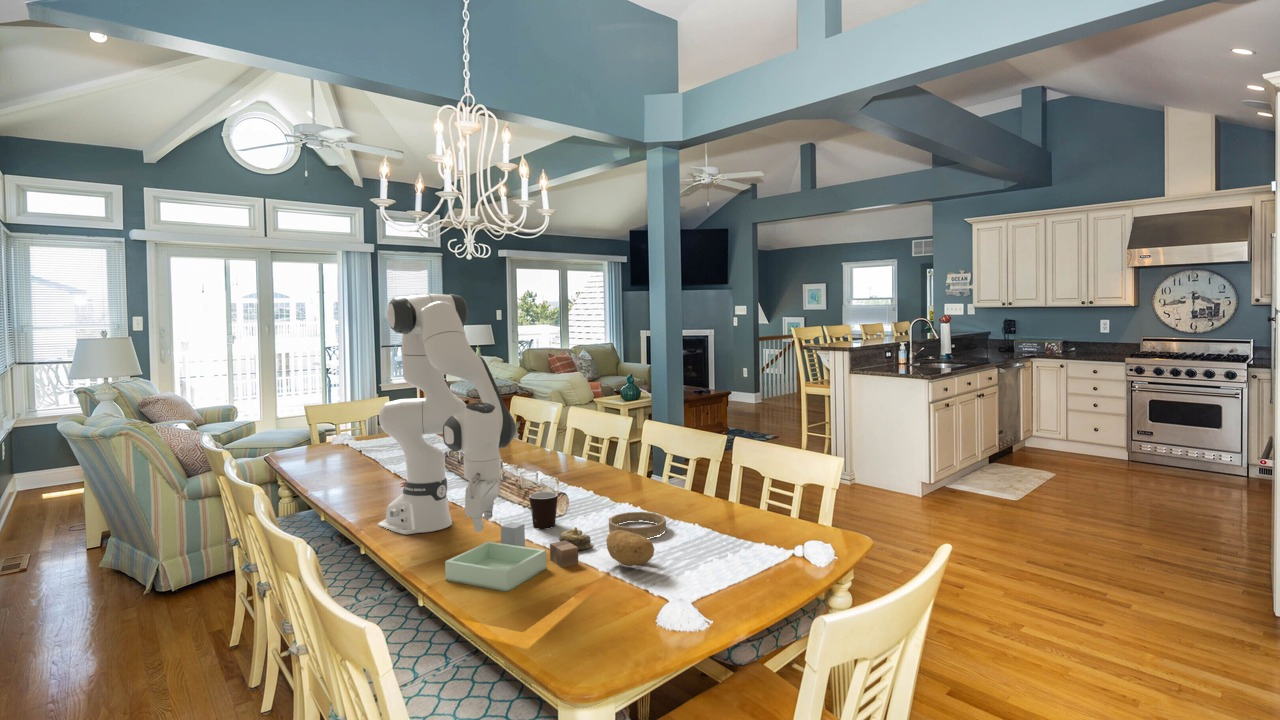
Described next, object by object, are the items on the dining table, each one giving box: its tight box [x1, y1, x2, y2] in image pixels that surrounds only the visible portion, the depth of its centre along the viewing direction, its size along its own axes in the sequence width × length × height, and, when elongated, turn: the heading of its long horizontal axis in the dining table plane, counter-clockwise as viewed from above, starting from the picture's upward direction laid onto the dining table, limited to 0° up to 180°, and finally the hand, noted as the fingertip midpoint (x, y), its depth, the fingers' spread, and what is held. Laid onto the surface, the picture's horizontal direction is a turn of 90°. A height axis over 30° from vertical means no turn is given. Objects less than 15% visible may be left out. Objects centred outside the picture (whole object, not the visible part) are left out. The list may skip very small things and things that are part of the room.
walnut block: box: [549, 540, 579, 569], centre depth 164 cm, size 4×4×7 cm
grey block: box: [500, 521, 526, 547], centre depth 173 cm, size 4×4×7 cm
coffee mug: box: [528, 491, 559, 530], centre depth 195 cm, size 12×9×10 cm
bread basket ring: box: [608, 511, 667, 538], centre depth 189 cm, size 17×17×4 cm
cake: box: [558, 527, 594, 551], centre depth 176 cm, size 10×10×5 cm
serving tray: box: [444, 541, 548, 593], centre depth 156 cm, size 18×16×5 cm
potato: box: [605, 530, 655, 567], centre depth 161 cm, size 10×14×8 cm
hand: (483, 524), depth 158 cm, fingers open, 8 cm apart
